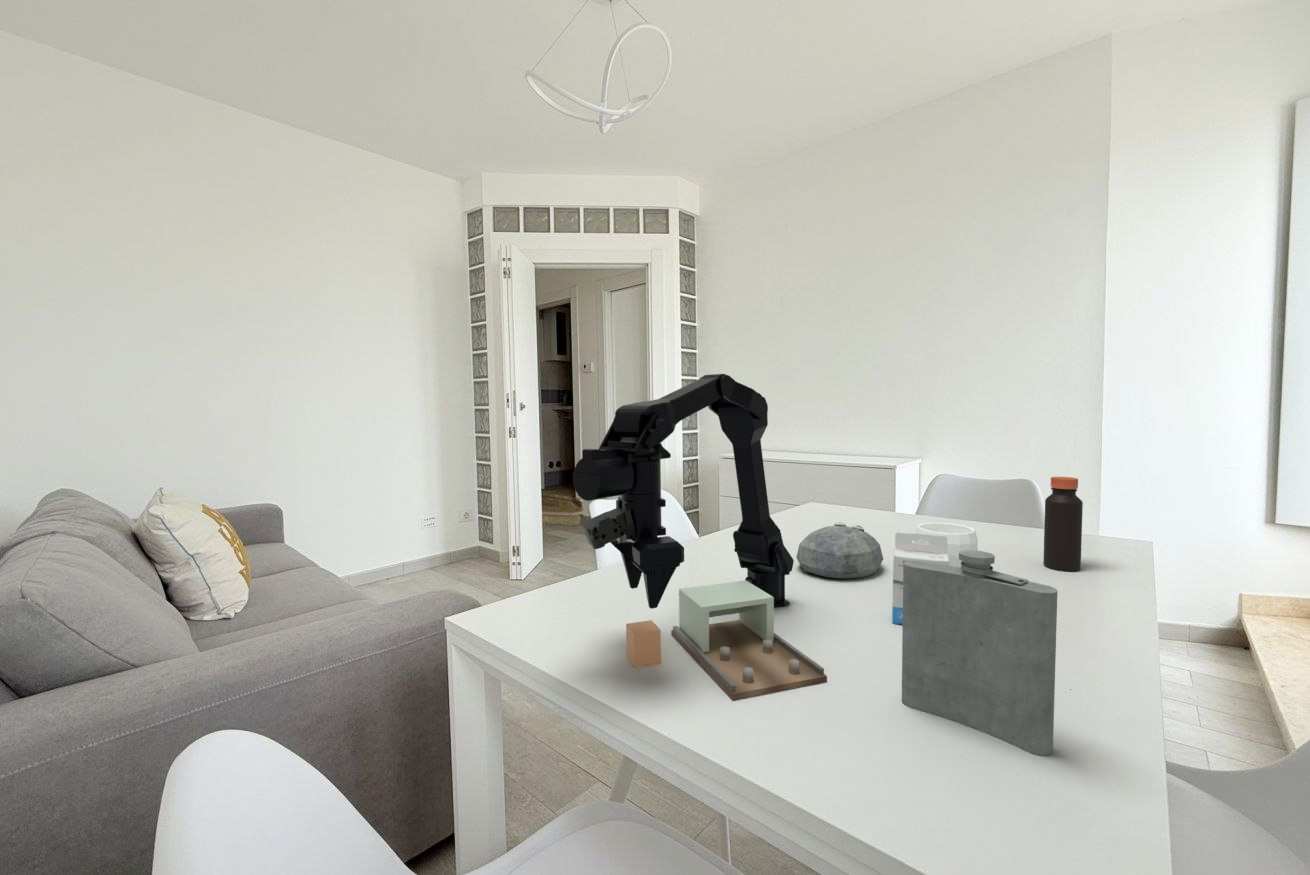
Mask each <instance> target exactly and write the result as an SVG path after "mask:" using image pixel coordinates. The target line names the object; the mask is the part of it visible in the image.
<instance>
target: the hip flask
mask: <svg viewBox="0 0 1310 875" xmlns="http://www.w3.org/2000/svg"><path fill="white" fill-rule="evenodd" d="M995 558H996V557H995V554H993V553H990V552H987V551H983V550H978V549H977V550H963V551H959V560H961V561H962V562H961V568H960V567H954V566H948V565H942V564H935V563H928V562H921V561H906V562H904V563H903V625H902V636H901V637H902V638H901V639H902V642H901V643H902V644H901V645H902V646H901V649H902V650H901V652H902V653H901V654H902V655H901V703H902V704H903V705H905V706H906V707H908V708H910V709H914V710H916V711H917V710H918V711H920V712H924V713H928V714H930V715H935V716H937V717H941V718H943V719H947V720H948V721H949V720H950V721H952V722H954V723H958V724H960V725H964V726H966V727H969V728H971V729H974V730H977V731H979V732H982V733H983V734H987V735H990V736H991V737H993V738H996V739H999V740H1001V741H1003V742H1006V743H1008V744H1011V745H1013V746H1015V747H1016V748H1018V749H1021V750H1023V751H1024V752H1028V753H1030V754H1031V755H1035V756H1040V757H1047V756H1051V755H1052V754H1053V752H1054V725H1055V724H1054V721H1055V695H1056V694H1055V689H1056V688H1055V687H1056V686H1055V685H1056V683H1055V682H1056V655H1057V654H1056V653H1057V626H1058V625H1057V622H1058V620H1057V619H1058V615H1057V614H1058V589H1057V588H1055V587H1053V586H1050V585H1047V584H1044V583H1043V584H1042V583H1039V582H1035V581H1030V580H1028V579H1027V578H1026V579H1025V578H1022V577H1018V576H1015V575H1011V574H1007V573H1003V572H999V571H997V570H994V567H993V566H992V565H993V564H995V562H996V561H995Z"/></svg>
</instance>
